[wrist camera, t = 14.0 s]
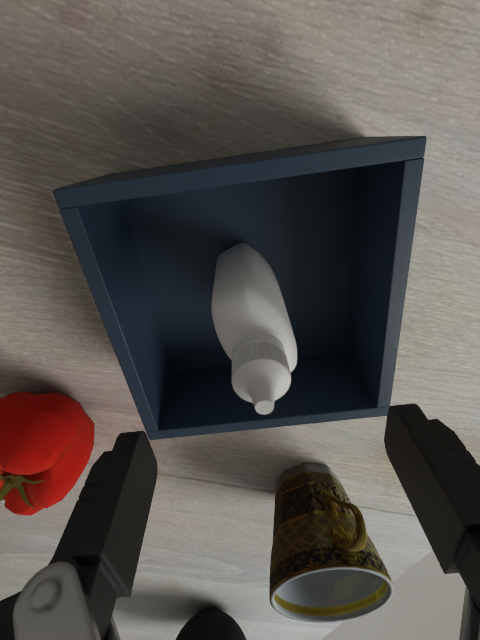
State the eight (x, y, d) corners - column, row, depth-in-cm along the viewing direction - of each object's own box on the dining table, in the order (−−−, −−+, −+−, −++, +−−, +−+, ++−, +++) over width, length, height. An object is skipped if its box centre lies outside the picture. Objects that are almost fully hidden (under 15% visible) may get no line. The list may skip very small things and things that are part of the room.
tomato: (-11, 372, 27) (-90, 448, 20) (98, 378, 27) (56, 454, 21) (17, 448, 31) (-40, 529, 25) (110, 452, 32) (78, 533, 25)
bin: (106, 174, 19) (50, 189, 14) (366, 136, 19) (427, 135, 13) (167, 374, 27) (149, 440, 21) (353, 353, 26) (388, 415, 20)
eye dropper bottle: (220, 317, 24) (209, 459, 13) (216, 241, 21) (198, 345, 10) (279, 315, 24) (316, 456, 13) (283, 239, 21) (333, 341, 10)
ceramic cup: (334, 513, 38) (365, 626, 29) (251, 505, 37) (257, 619, 28) (380, 438, 31) (436, 553, 23) (281, 425, 30) (300, 540, 22)
